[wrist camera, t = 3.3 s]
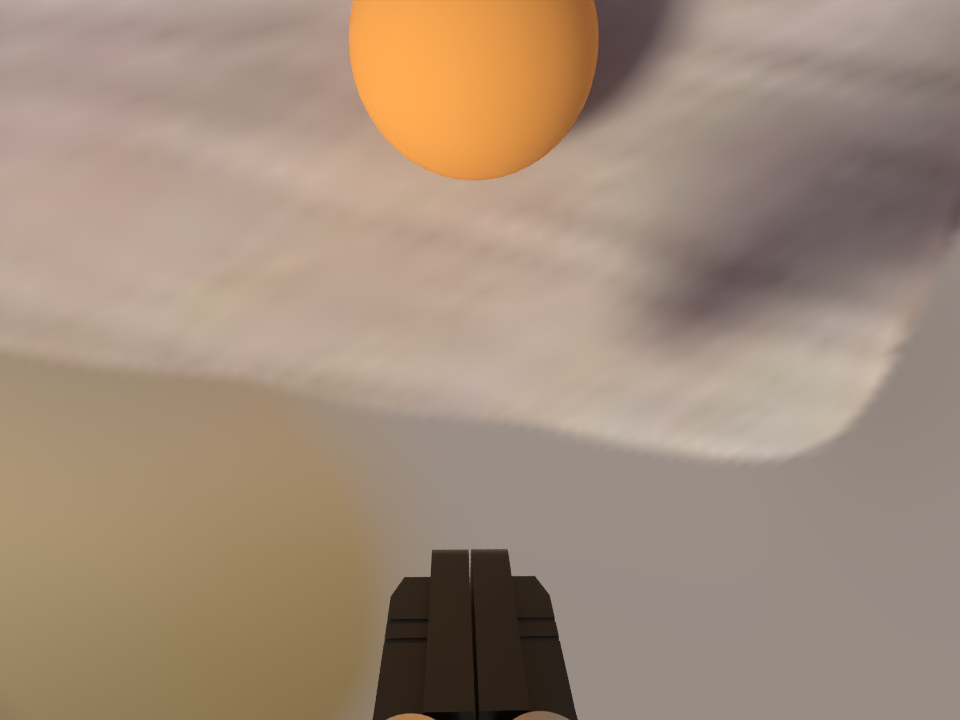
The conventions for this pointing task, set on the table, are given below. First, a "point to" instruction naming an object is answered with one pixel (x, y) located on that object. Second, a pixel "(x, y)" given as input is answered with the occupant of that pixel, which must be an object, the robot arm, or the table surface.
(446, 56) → the ball
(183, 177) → the table surface
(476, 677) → the robot arm
